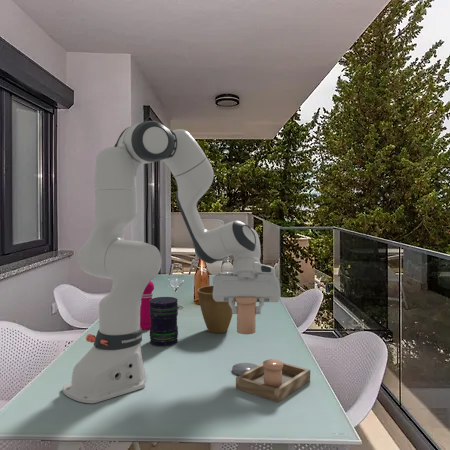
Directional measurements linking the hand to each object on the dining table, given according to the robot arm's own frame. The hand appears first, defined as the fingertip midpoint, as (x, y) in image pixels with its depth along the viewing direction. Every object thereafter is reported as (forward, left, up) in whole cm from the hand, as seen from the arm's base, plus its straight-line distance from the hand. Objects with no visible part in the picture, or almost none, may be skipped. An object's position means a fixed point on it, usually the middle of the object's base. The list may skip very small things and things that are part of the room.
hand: (246, 313), depth 129 cm
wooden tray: (-3, -11, -17) cm, 21 cm away
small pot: (-7, -14, -16) cm, 22 cm away
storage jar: (+3, +38, -17) cm, 42 cm away
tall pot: (+1, 0, -6) cm, 6 cm away
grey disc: (0, 0, -17) cm, 17 cm away
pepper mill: (+11, +56, -17) cm, 60 cm away
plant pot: (+25, +32, -17) cm, 44 cm away
